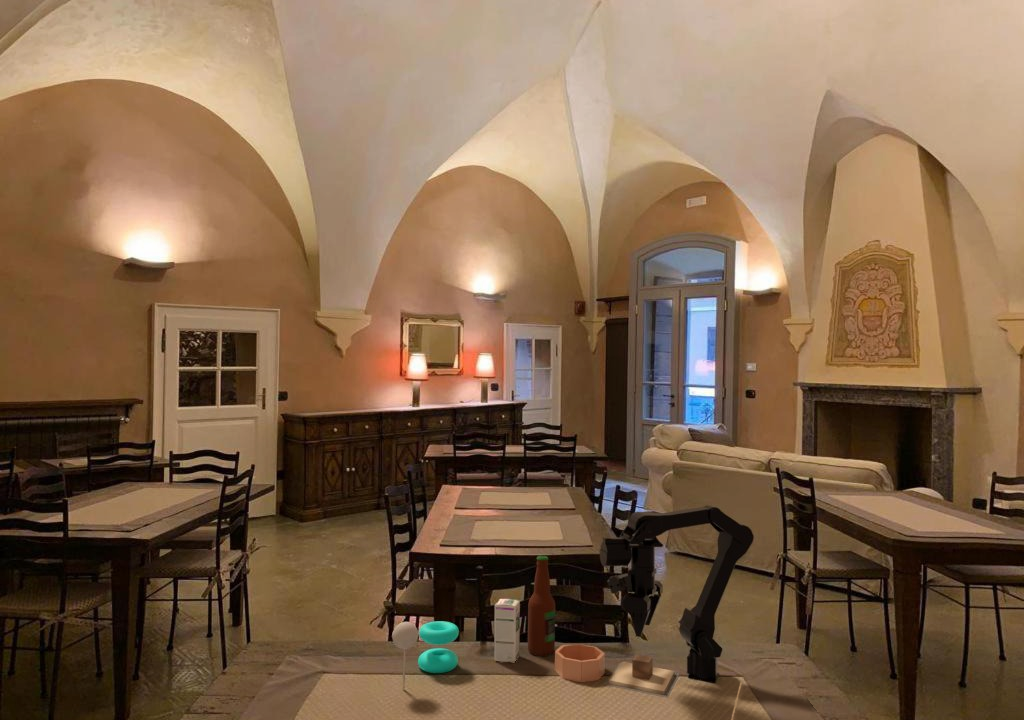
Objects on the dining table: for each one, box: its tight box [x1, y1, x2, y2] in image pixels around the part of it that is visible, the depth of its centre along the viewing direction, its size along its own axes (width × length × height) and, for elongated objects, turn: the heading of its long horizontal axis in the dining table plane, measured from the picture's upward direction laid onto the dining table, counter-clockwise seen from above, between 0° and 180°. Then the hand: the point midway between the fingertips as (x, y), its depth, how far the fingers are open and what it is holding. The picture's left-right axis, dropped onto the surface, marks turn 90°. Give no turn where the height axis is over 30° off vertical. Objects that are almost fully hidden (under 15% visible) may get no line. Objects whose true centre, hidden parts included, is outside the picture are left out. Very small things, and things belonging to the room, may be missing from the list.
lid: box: [609, 654, 676, 695], centre depth 153 cm, size 13×13×5 cm
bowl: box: [554, 643, 606, 683], centre depth 157 cm, size 11×11×5 cm
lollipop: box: [391, 621, 420, 691], centre depth 146 cm, size 6×6×15 cm
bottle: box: [527, 555, 556, 657], centre depth 171 cm, size 7×7×25 cm
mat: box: [603, 662, 680, 699], centre depth 153 cm, size 15×15×1 cm
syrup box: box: [493, 598, 521, 662], centre depth 165 cm, size 6×6×14 cm
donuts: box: [417, 620, 460, 674], centre depth 159 cm, size 10×10×10 cm
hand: (642, 630), depth 154 cm, fingers open, 9 cm apart
